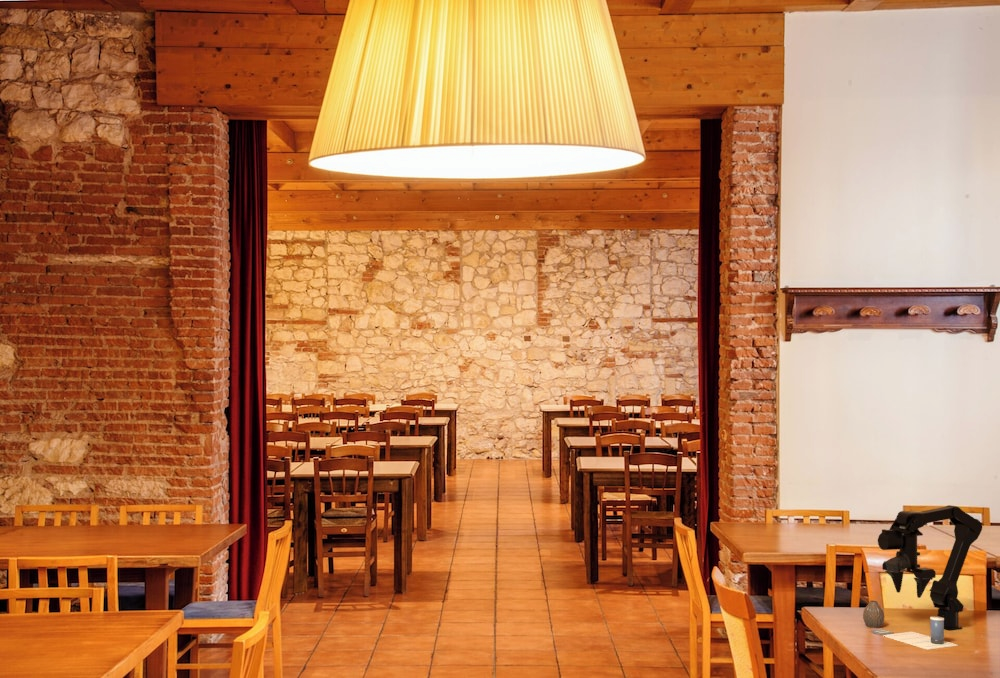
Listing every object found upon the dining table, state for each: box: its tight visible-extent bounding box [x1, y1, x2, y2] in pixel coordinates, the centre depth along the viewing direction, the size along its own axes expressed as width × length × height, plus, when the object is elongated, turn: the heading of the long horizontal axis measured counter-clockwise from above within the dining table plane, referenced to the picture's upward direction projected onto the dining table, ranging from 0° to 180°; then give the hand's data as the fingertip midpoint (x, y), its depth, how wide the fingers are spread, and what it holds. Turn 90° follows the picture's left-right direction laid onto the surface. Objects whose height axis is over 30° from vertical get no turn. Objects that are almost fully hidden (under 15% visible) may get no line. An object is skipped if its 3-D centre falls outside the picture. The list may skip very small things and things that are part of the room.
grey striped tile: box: [869, 628, 895, 636], centre depth 350 cm, size 6×5×1 cm
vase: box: [862, 600, 885, 629], centre depth 360 cm, size 7×7×9 cm
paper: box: [882, 631, 959, 651], centre depth 340 cm, size 13×19×1 cm
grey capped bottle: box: [929, 615, 945, 644], centre depth 337 cm, size 4×4×8 cm
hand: (908, 595), depth 354 cm, fingers open, 9 cm apart
